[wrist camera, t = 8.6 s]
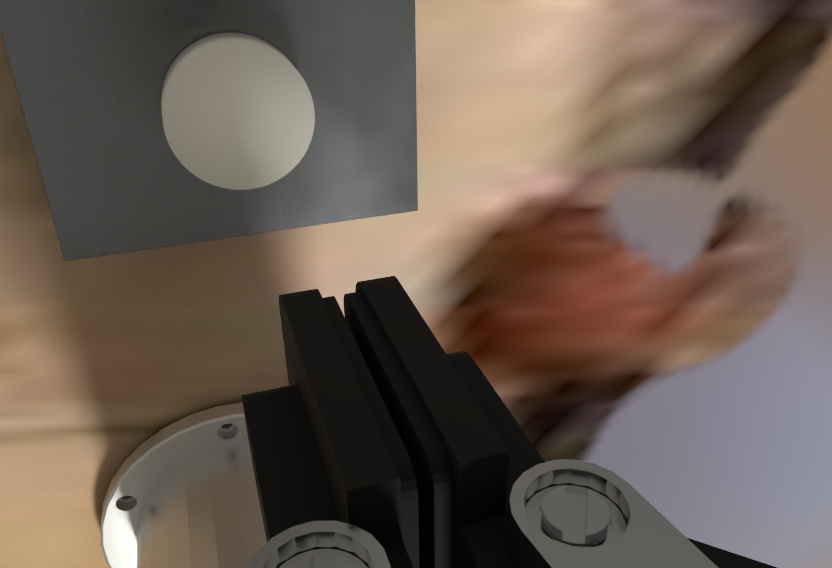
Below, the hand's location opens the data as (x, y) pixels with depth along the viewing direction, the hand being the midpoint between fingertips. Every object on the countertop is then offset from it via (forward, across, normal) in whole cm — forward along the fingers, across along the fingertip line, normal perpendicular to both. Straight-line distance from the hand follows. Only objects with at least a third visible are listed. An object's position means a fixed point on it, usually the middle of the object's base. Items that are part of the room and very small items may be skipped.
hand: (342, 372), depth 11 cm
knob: (+17, 0, 0) cm, 17 cm away
